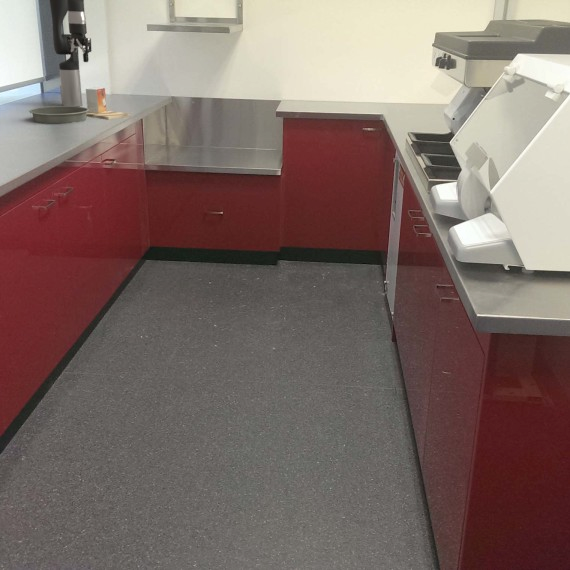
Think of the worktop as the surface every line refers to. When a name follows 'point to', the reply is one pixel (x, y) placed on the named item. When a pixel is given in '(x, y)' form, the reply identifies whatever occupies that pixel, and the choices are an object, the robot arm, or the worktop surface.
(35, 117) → the cake pan
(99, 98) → the small box
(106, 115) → the maple board
